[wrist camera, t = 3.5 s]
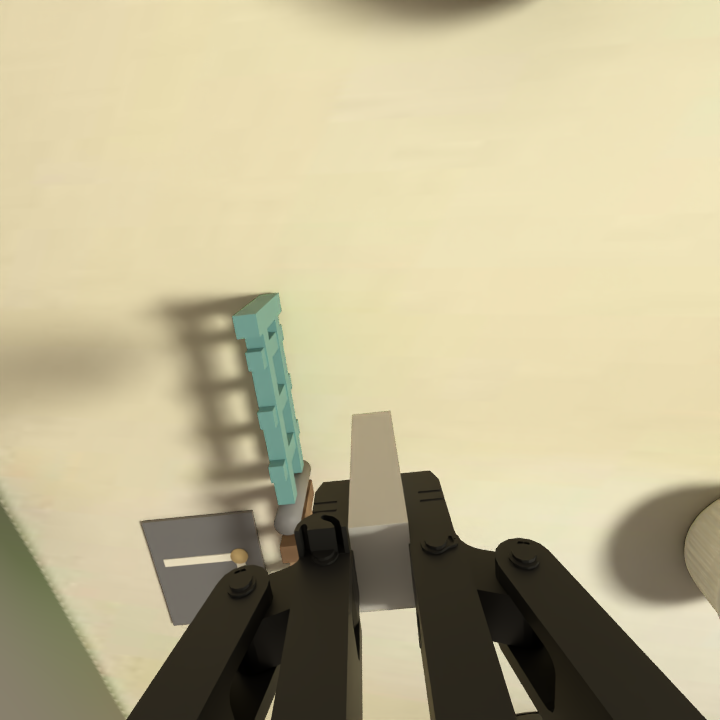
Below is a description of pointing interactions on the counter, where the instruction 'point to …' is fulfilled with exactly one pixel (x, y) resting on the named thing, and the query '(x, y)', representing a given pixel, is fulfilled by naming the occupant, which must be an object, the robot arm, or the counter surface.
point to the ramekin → (705, 553)
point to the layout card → (199, 556)
